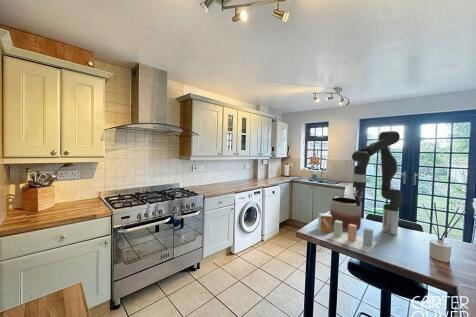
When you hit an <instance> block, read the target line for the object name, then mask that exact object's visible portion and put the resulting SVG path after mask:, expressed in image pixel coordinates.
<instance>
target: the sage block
mask: <svg viewBox="0 0 476 317" xmlns="http://www.w3.org/2000/svg"><path fill="white" fill-rule="evenodd" d="M342 224H343V222H342V221H338V220H336V221H334V224H333V231H334V236H337V237H341V236H342V232H343V227H342Z"/></svg>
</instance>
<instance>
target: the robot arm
mask: <svg viewBox="0 0 476 317" xmlns="http://www.w3.org/2000/svg"><path fill="white" fill-rule="evenodd" d="M400 138H401V137H400V133H399V132H398V131H397V130H390V131H389V130H385V131H381V132H380V133H379V135H378V140H377V141H374V142H372V143H370V144H368V145H366V146H365V147H363V148H360V149H357V150H355V151H354V152H353V153H352V156H351V160H353V161H354V162H357V163H358V162H360V163H359V164H358V165H355V166H354V167H353V175H352V178H353V179H352V188H354V193H353V197H354V199H355V200H356V206H360V202H361V203H362V199H363V196H364V194H365V192H364V189H366V188H367V187H366V186H367V185H366V184H367V167H368V165H369V162H370V158H371V156H373V155H375V154H376V153H378V152H379V151H380V158H381V159H380V160H381V163H380V164H381V189H380V190H381V191H380V193H381V194H380V195H381V197H382V198H383V199H385V200H387V201H389V203H385V204H383V208H382V209H383V210H382V226H381V231H382V232H383V233H385V234H389V235H398V231H399V228H398V227H399V214H400V213H399V211H400V208H401V202H402V192H401V190H400V189H399V188H394V187H391V186H392V184H391V182H392V180H393V178H394V176H396V174H397V171H398V163H397V160H396V158H395V156H394V155H393V153H391V151H390V148H389V146H392V145H395V144H396V143H398V142H399V141H400Z"/></svg>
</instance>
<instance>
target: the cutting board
mask: <svg viewBox="0 0 476 317" xmlns="http://www.w3.org/2000/svg"><path fill="white" fill-rule="evenodd" d="M324 239H328V240H331V241H334V242H337V243H340V244H342V245H346V246H348V247H351V248H354V249H357V250H360V251H363V252H366V253H369V252H370V251H371V250H372V249H373V248H374V247H375V246H376V244H377V243H378V241H375V240H372V246H371V247H368V246H365V245H363V237H361V236H359V235H357V236H356V241H355V242H352V241H349V240H348V232H345V231H342V236H341V237H337V236H334V230H332V232H329V234H327V235H325V236H324Z"/></svg>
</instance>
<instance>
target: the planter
mask: <svg viewBox="0 0 476 317" xmlns="http://www.w3.org/2000/svg"><path fill="white" fill-rule="evenodd" d="M329 214H330V215H331V216H333V218H332V225H334V221H336V220H338V221H342V222H343V224H342V228H346V229H348V225H349V224H354V225H357V229H358V228H360V227H361V223H362V222H361V220H362V201H361V202H360V206H356V200H355V198H351V197H345V196H344V197H343V196H341V197H340V196H335V197H331V198H330V211H329Z"/></svg>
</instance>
